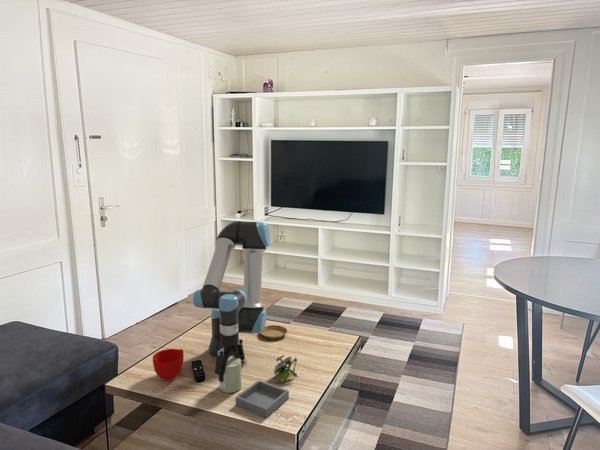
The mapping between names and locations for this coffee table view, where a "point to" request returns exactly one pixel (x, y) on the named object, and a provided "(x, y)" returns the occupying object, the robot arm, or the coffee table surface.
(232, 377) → the can
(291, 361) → the passion flower
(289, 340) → the coffee table surface
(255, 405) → the tray
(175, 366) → the red bowl
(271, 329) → the plant saucer
